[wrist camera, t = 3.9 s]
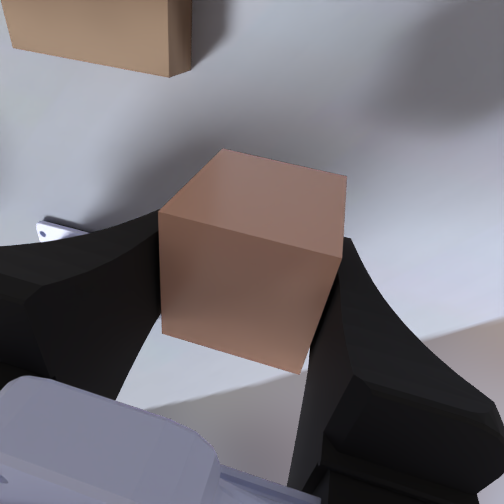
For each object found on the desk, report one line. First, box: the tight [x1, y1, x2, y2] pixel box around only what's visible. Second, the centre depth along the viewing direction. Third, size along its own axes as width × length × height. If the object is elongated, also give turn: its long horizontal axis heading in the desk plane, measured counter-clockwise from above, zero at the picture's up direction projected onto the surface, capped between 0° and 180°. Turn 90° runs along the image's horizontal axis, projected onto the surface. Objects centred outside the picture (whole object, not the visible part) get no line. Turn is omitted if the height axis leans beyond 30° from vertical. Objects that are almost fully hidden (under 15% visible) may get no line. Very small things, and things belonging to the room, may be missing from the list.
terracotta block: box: [158, 148, 347, 375], centre depth 11 cm, size 4×4×5 cm
